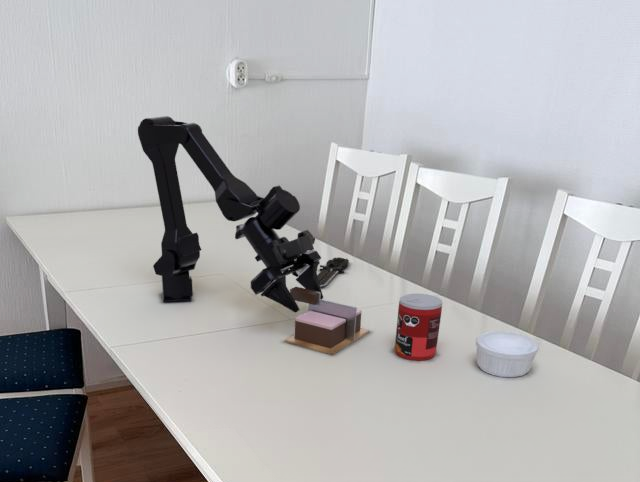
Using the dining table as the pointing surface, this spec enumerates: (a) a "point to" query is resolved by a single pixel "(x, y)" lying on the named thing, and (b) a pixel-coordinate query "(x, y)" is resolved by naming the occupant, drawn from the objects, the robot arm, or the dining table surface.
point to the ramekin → (505, 353)
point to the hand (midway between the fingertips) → (309, 305)
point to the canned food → (418, 326)
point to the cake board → (325, 349)
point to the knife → (333, 272)
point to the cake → (322, 328)
